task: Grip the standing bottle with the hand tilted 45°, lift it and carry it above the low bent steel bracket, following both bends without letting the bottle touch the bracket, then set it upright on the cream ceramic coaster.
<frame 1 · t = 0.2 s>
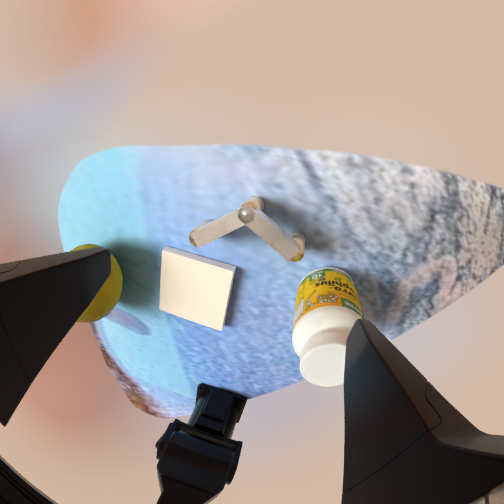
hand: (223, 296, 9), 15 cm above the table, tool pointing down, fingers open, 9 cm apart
bent steel bracket: (250, 226, 23), on the table
supplement bottle: (326, 290, 24), on the table
lemon: (110, 267, 29), on the table
cream coaster: (196, 287, 27), on the table
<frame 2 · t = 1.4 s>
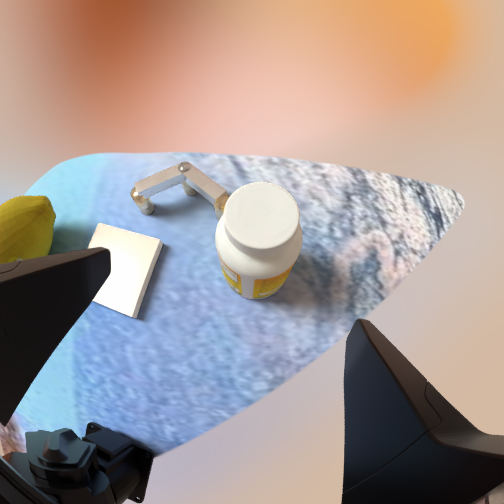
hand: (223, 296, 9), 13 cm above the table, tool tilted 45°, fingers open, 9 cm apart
bent steel bracket: (183, 207, 25), on the table
supplement bottle: (255, 269, 23), on the table
lemon: (39, 254, 24), on the table
cream coaster: (117, 269, 23), on the table
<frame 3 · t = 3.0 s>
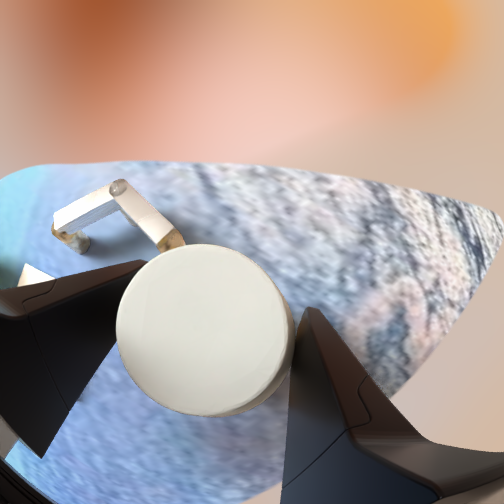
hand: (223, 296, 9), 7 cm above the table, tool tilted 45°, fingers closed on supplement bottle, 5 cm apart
bent steel bracket: (126, 243, 17), on the table
supplement bottle: (225, 344, 15), on the table, touching gripper
cream coaster: (46, 328, 14), on the table
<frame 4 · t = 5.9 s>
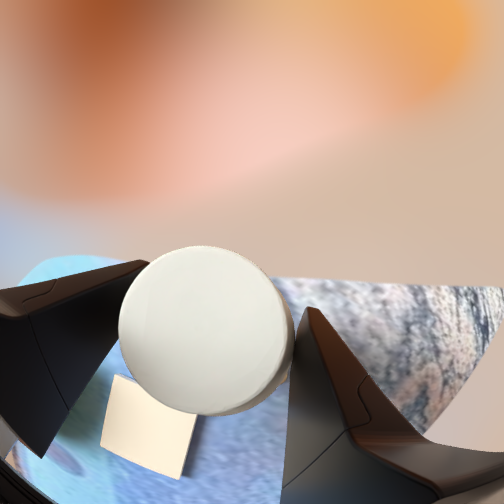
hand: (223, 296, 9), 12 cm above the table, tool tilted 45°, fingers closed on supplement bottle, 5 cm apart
supplement bottle: (226, 344, 15), point 5 cm above the table, touching gripper
cream coaster: (148, 427, 17), on the table
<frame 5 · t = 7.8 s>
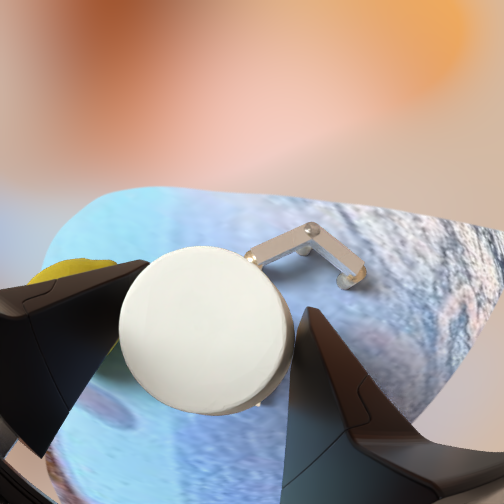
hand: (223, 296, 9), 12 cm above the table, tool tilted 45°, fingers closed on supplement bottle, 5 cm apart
bent steel bracket: (298, 270, 22), on the table
supplement bottle: (226, 344, 15), point 5 cm above the table, touching gripper
lemon: (97, 323, 20), on the table
when the fingers open (9 cm above the table, at t = 9.1 s): supplement bottle drops 1 cm, resting on cream coaster.
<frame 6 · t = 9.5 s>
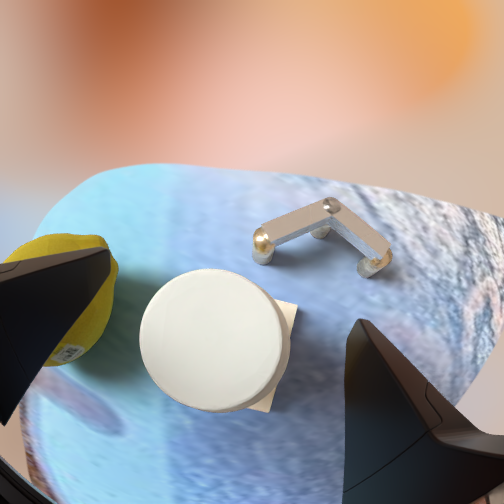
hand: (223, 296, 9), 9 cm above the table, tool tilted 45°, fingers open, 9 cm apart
bent steel bracket: (314, 254, 19), on the table
supplement bottle: (228, 347, 16), point 1 cm above the table, touching cream coaster
lemon: (84, 313, 17), on the table
cream coaster: (228, 345, 17), on the table
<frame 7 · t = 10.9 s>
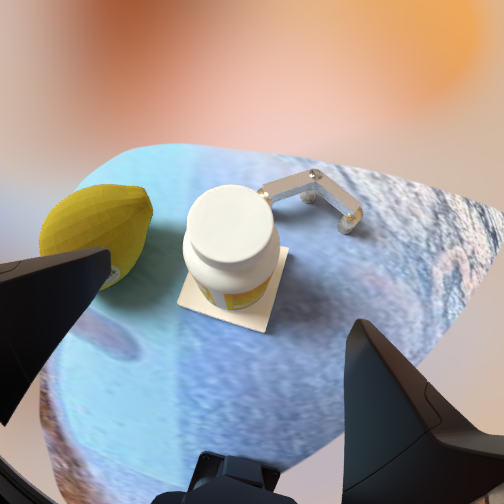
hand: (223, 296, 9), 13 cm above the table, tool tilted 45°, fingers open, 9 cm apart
bent steel bracket: (302, 214, 25), on the table
supplement bottle: (234, 278, 22), point 1 cm above the table, touching cream coaster
lemon: (114, 257, 23), on the table
cream coaster: (234, 279, 22), on the table
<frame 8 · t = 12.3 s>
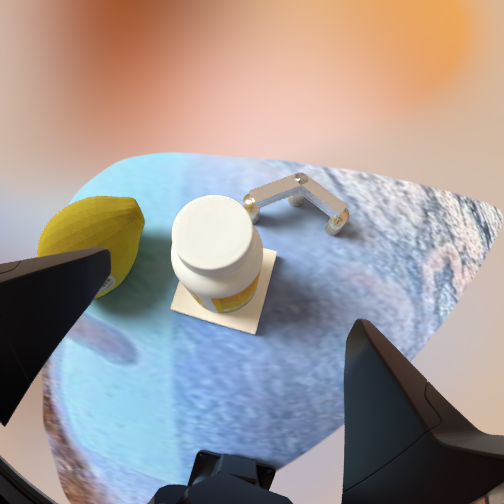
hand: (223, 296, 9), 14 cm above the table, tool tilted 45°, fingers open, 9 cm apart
bent steel bracket: (290, 217, 25), on the table
supplement bottle: (224, 282, 22), point 1 cm above the table, touching cream coaster
lemon: (110, 265, 24), on the table
cream coaster: (225, 283, 23), on the table
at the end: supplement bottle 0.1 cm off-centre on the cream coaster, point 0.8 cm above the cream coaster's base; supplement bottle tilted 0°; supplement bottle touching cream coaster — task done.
